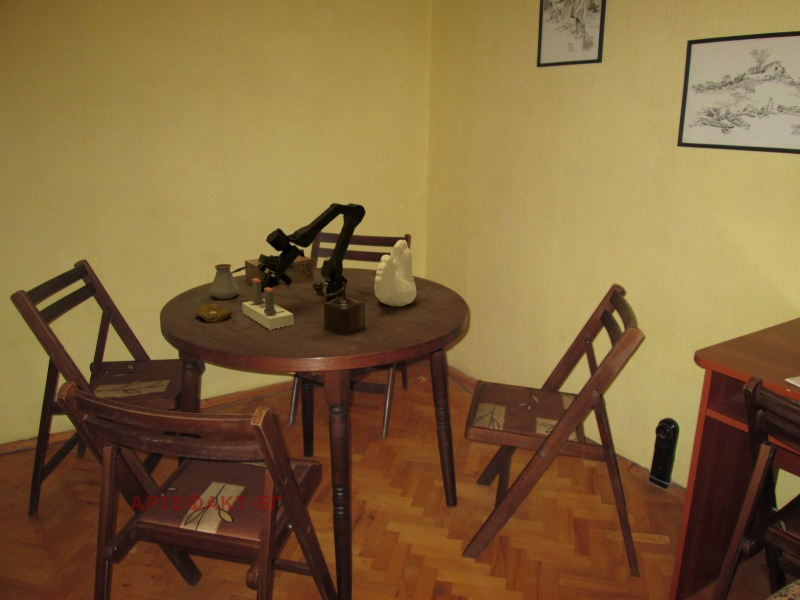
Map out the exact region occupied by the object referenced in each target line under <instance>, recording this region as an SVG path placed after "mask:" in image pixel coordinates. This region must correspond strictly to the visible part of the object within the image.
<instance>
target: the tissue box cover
mask: <svg viewBox="0 0 800 600" xmlns="http://www.w3.org/2000/svg"><path fill="white" fill-rule="evenodd" d="M258 260H259V258H253V259H246V260H245V259H244V266H247V268H245V269H244V272H245V282H246V281H247V282H248V283H247V282H246V283H247V284H249V283H250V284H249V285H251V284H252V285H253V283H252V279H254V278H257V279H259V280H261V284H262V281H263V273H262V272H261V271H260V270H259V269H258V268H257V266H258V264H259V263H260V262H258ZM291 266H292V268H291V269H288V270H287V271H286V272H285V274H286V275H288V276H289V277H290V278H291V279H292V283H291V285H295V284H300V283H306V282H312V281H315V278H314V275H315V274H314V259H313V258H311V257H309V256H306V255H305V257H301V256H298V257H297V258H296V260H295V261H294V262H293V263H292V265H291ZM248 270H249V271H248ZM280 283H281V285H283V286H286V285H285V283H284V282H283V281H282V280H281V282H280ZM294 283H295V284H294ZM252 285H251V286H252ZM281 285H277V287H282V286H281Z"/></svg>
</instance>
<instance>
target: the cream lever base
mask: <svg viewBox="0 0 800 600" xmlns="http://www.w3.org/2000/svg"><path fill="white" fill-rule="evenodd" d="M262 300H264V303H261V304H255V303H253V302H252V300H251V301H246V302H245V301H244V302H242V303H241V305H242V307H241V308H242V314H244V315H245V316H247V317H248V316H249V317H248V318H250V319H252V320H253V321H255V322H256V321H257V322H256V323H258V324H259V323H260V325H262V326H263V327H265V328H266V329H267V328H268V330H269V331H272V329H273V330H276V329H275V328H277V329H281V328H280V327H282V328H286V327H285V326H287V327H291V326H294V325H295V324H294V313H292V312H290V311H288V310H286V309H285V308H283V307H281V306H279V305H278V304H276V303H274V310H276V314H271V315H268V314H266V313H264V310H265V309H266V306H265V298H262ZM290 325H291V326H290Z"/></svg>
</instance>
